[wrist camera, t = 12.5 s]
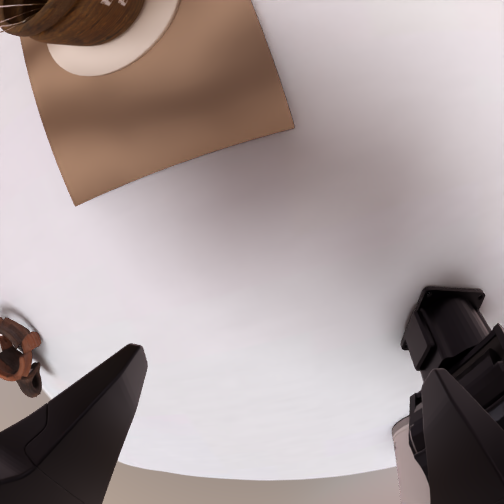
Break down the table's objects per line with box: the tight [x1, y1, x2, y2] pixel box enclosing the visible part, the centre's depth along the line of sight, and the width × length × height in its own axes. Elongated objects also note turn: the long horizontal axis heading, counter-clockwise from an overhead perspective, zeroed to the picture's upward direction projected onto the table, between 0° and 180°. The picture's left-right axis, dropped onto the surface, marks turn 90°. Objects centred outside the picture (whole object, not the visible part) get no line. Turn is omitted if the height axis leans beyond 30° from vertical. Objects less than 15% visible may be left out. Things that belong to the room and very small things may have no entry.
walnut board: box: [20, 0, 295, 206], centre depth 13 cm, size 24×16×2 cm, turn 18°
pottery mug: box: [0, 317, 42, 398], centre depth 30 cm, size 12×10×8 cm
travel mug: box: [392, 416, 430, 504], centre depth 22 cm, size 6×7×20 cm
